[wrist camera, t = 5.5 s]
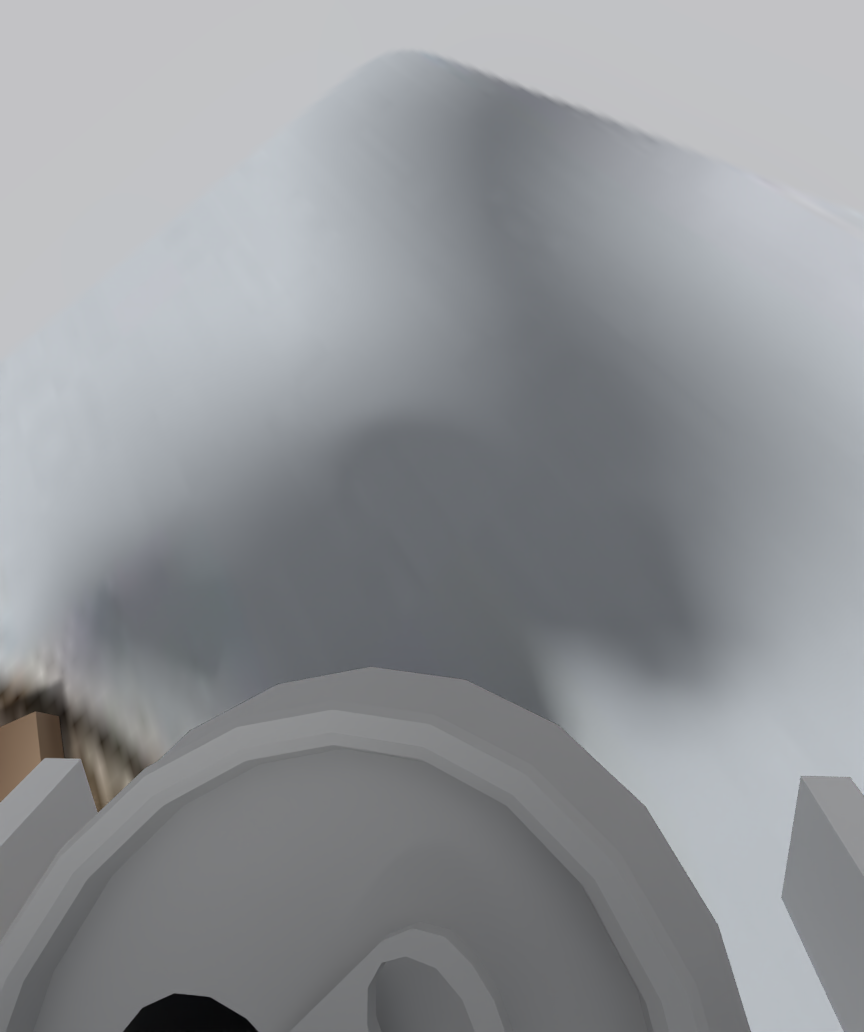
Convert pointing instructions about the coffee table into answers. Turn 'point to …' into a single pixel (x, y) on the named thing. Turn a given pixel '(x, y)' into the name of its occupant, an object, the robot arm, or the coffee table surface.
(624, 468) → the coffee table surface
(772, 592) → the coffee table surface
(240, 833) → the can
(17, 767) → the can holder
